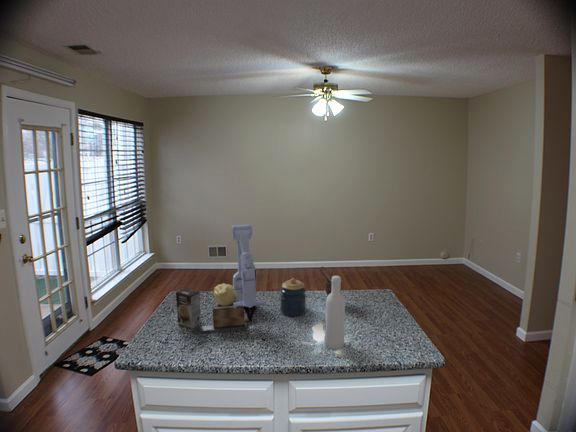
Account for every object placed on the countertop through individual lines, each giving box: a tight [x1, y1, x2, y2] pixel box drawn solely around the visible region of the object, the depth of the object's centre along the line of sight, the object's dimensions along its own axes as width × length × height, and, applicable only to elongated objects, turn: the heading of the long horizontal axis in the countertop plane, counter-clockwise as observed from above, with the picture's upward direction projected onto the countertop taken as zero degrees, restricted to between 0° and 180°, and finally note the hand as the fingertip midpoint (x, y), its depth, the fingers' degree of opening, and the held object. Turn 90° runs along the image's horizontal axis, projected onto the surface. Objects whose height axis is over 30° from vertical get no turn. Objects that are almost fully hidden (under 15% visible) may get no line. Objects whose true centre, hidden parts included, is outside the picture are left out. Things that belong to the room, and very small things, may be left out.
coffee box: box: [175, 287, 202, 329], centre depth 158 cm, size 9×6×16 cm
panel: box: [212, 305, 246, 327], centre depth 154 cm, size 14×2×9 cm, turn 100°
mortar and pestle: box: [319, 266, 343, 296], centre depth 178 cm, size 12×9×20 cm
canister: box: [279, 277, 307, 318], centre depth 170 cm, size 13×13×18 cm
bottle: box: [324, 275, 346, 350], centre depth 139 cm, size 8×8×30 cm
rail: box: [192, 321, 248, 335], centre depth 154 cm, size 24×4×1 cm, turn 100°
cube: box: [244, 310, 249, 322], centre depth 163 cm, size 5×5×5 cm
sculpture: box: [213, 282, 236, 307], centre depth 179 cm, size 11×12×11 cm
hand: (250, 320), depth 156 cm, fingers closed
